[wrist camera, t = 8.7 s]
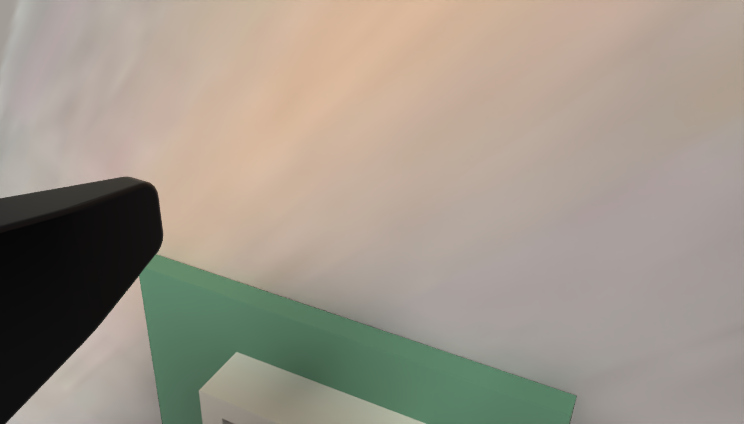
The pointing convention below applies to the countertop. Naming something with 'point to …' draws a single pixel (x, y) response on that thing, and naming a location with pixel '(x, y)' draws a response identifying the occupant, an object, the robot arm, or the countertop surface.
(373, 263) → the countertop surface
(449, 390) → the board
